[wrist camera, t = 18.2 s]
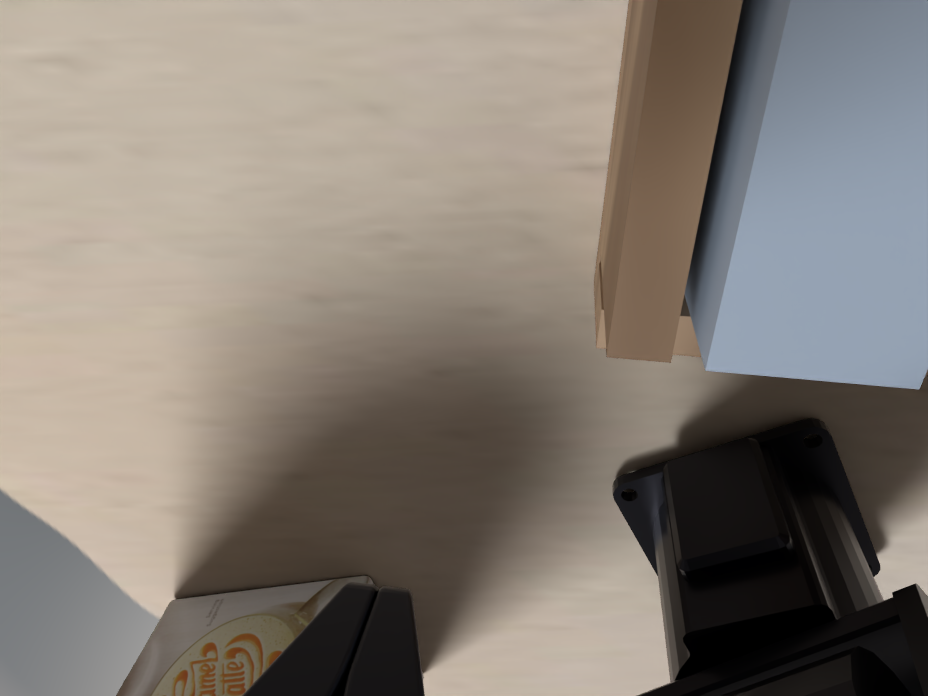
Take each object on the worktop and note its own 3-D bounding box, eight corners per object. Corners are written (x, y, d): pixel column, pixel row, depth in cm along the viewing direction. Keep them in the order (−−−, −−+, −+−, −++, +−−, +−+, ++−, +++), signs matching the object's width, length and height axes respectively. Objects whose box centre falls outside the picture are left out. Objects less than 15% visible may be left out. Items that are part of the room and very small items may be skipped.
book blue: (921, -97, 14) (1125, -102, 8) (819, 248, 17) (918, 389, 12) (729, -101, 14) (814, -108, 9) (669, 237, 18) (705, 371, 12)
